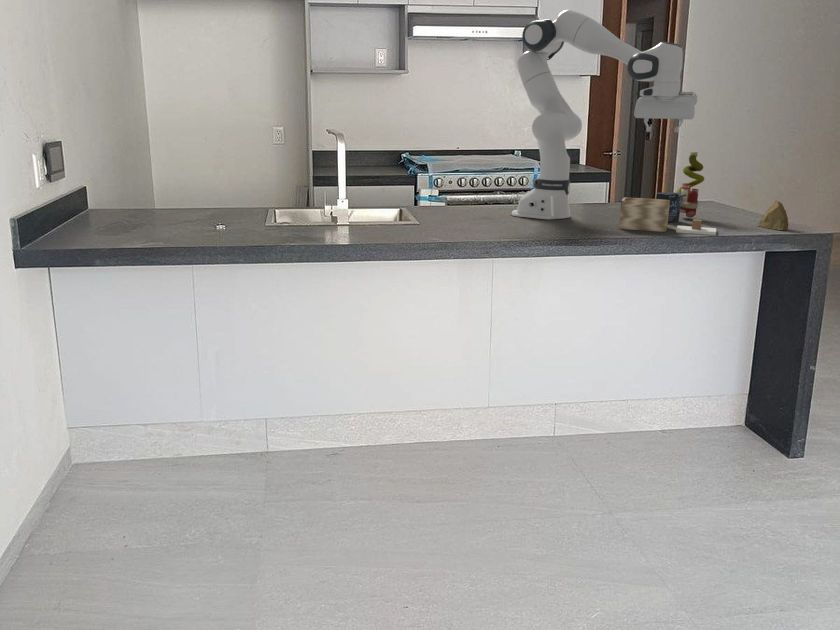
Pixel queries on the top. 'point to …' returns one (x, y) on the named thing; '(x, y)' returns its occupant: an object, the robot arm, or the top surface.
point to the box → (672, 204)
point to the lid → (696, 228)
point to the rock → (775, 217)
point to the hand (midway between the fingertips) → (662, 132)
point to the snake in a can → (691, 197)
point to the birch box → (644, 214)
